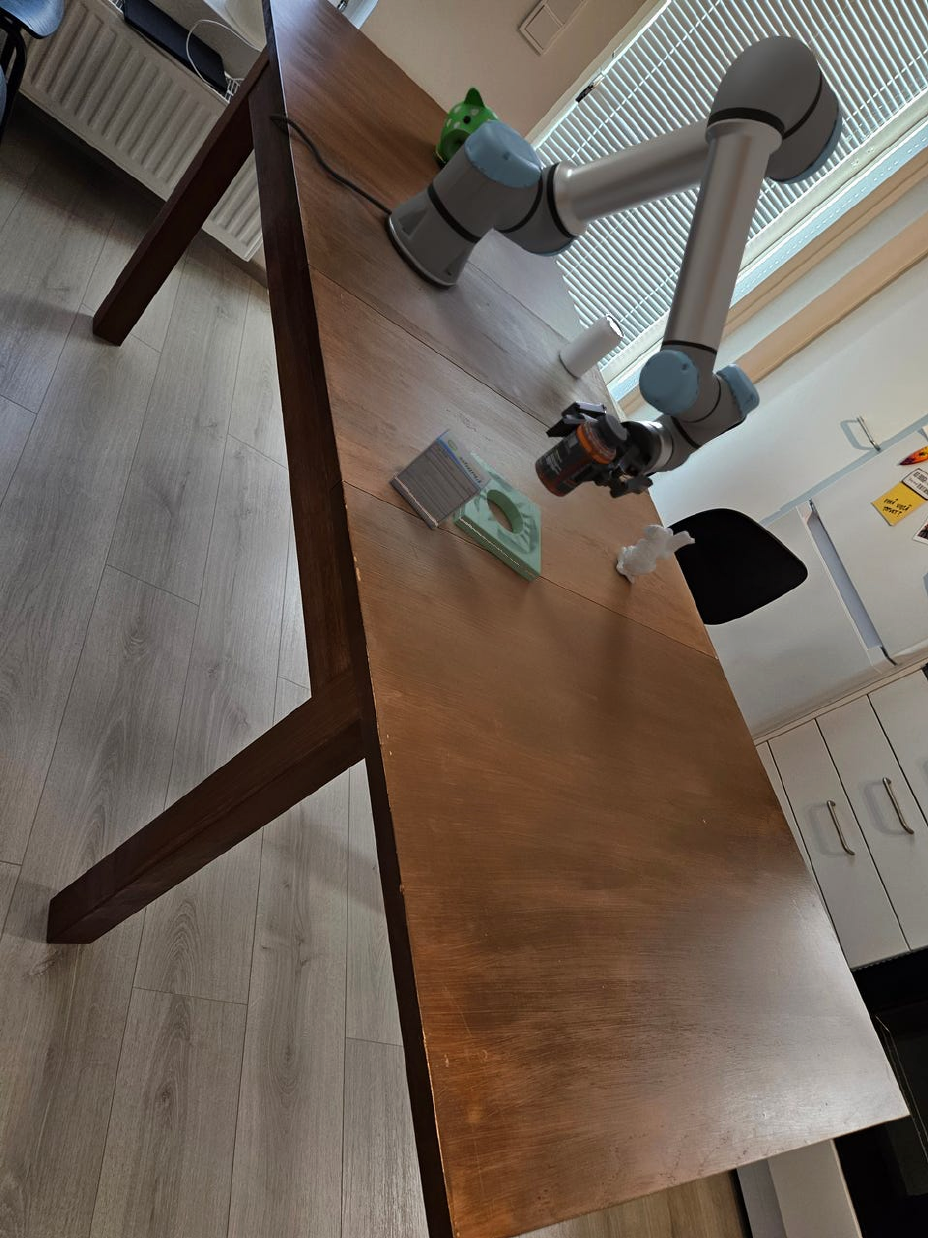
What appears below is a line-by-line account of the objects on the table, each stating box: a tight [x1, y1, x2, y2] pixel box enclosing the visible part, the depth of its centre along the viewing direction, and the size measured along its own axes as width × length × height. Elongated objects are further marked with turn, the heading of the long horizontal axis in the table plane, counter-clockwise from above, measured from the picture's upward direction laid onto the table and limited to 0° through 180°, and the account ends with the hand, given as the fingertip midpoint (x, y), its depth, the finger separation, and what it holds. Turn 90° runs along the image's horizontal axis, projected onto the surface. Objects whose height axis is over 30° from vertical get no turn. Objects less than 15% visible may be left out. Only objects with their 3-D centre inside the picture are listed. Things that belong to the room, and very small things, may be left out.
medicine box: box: [390, 428, 491, 531], centre depth 95 cm, size 8×4×9 cm, turn 65°
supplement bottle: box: [534, 413, 627, 498], centre depth 100 cm, size 6×6×11 cm
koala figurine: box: [616, 524, 696, 584], centre depth 128 cm, size 8×7×12 cm
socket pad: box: [453, 450, 542, 583], centre depth 108 cm, size 14×14×2 cm
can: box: [559, 313, 626, 378], centre depth 159 cm, size 6×6×12 cm
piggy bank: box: [433, 86, 502, 165], centre depth 166 cm, size 14×18×15 cm
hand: (569, 450), depth 96 cm, fingers closed on supplement bottle, 6 cm apart
